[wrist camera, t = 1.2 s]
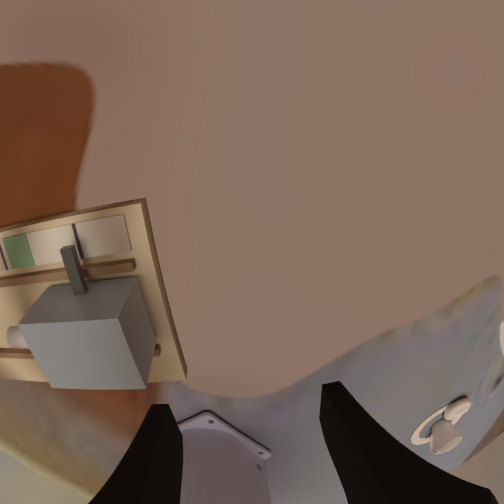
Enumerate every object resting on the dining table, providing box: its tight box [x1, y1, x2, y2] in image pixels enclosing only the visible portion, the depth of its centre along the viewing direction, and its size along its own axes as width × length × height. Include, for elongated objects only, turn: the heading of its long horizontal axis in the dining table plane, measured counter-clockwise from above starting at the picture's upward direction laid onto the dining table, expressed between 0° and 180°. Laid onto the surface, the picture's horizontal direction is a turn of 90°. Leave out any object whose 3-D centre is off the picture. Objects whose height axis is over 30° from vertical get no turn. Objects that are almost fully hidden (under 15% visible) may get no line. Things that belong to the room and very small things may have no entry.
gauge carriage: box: [7, 244, 156, 389], centre depth 15 cm, size 9×7×4 cm
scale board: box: [0, 198, 187, 383], centre depth 15 cm, size 18×12×6 cm, turn 96°
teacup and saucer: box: [411, 321, 504, 455], centre depth 28 cm, size 9×8×4 cm
